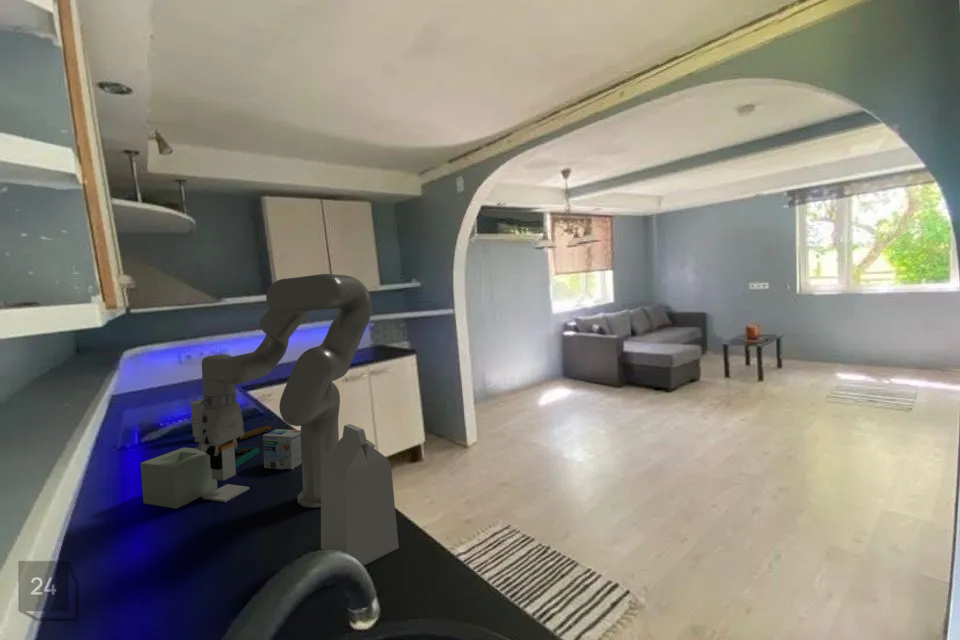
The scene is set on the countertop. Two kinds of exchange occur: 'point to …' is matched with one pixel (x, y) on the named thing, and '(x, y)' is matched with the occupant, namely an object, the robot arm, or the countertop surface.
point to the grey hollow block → (177, 478)
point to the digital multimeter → (245, 454)
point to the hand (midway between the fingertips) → (223, 465)
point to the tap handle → (253, 432)
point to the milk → (357, 499)
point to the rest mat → (225, 493)
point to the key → (225, 462)
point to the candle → (196, 419)
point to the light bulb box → (282, 449)
